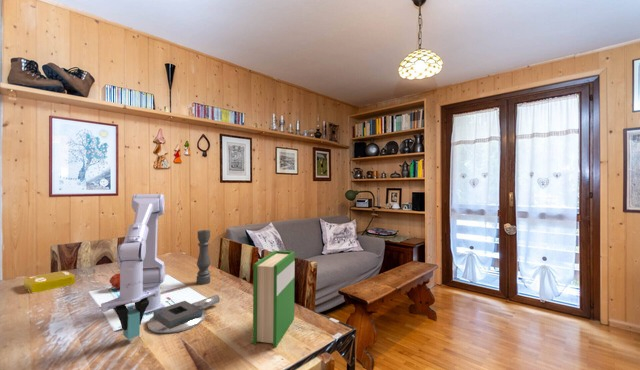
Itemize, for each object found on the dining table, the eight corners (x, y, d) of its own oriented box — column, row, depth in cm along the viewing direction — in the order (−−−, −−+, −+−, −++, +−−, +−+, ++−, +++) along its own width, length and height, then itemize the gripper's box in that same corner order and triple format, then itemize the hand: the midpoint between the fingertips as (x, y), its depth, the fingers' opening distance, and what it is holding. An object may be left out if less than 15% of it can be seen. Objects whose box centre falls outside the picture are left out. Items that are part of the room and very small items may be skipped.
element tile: (76, 284, 132) (76, 274, 132) (32, 294, 119) (32, 283, 119) (65, 278, 140) (65, 269, 140) (22, 287, 127) (22, 277, 127)
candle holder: (199, 280, 138) (199, 230, 138) (211, 280, 138) (212, 230, 138) (194, 284, 131) (195, 232, 132) (208, 284, 132) (208, 232, 132)
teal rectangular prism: (123, 335, 84) (123, 312, 84) (134, 330, 86) (134, 308, 86) (128, 339, 82) (128, 315, 82) (139, 335, 84) (139, 312, 84)
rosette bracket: (138, 322, 95) (138, 310, 95) (204, 299, 115) (205, 289, 115) (162, 340, 85) (162, 327, 85) (231, 311, 104) (231, 300, 104)
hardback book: (276, 347, 81) (276, 265, 81) (252, 344, 83) (253, 264, 83) (294, 319, 99) (294, 251, 99) (274, 317, 100) (275, 250, 100)
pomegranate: (108, 298, 121) (129, 283, 123) (98, 284, 121) (119, 269, 123) (118, 293, 128) (138, 279, 130) (109, 280, 129) (128, 266, 130)
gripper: (107, 292, 76) (106, 342, 76) (162, 278, 87) (162, 321, 87) (98, 286, 80) (98, 333, 80) (153, 273, 92) (152, 314, 92)
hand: (131, 326), depth 84 cm, fingers closed on teal rectangular prism, 3 cm apart
